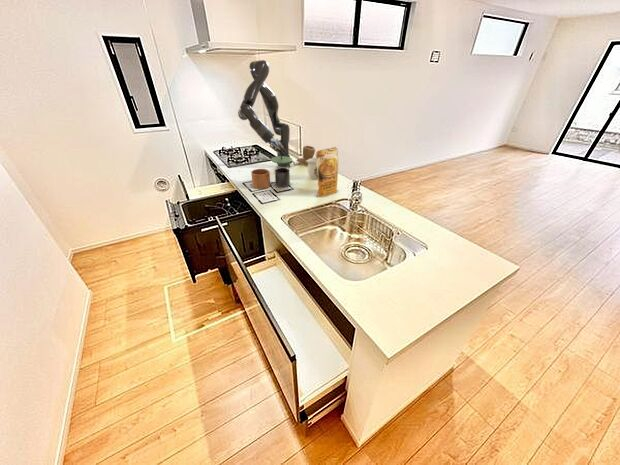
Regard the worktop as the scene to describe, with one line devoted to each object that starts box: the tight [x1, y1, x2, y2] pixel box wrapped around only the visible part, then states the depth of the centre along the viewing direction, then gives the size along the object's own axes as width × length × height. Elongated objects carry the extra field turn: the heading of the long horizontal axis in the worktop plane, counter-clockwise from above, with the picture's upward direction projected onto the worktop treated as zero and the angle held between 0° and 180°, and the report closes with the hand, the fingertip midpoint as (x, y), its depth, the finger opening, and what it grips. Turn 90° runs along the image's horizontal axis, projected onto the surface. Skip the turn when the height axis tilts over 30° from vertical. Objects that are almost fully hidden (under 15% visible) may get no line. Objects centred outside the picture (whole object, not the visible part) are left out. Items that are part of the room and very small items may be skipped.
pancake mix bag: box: [315, 146, 339, 198], centre depth 158 cm, size 7×19×28 cm, turn 127°
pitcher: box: [306, 157, 318, 181], centre depth 185 cm, size 11×18×14 cm, turn 124°
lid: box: [270, 145, 293, 164], centre depth 165 cm, size 14×14×10 cm
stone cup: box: [296, 145, 316, 167], centre depth 211 cm, size 15×12×15 cm
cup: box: [274, 167, 291, 188], centre depth 173 cm, size 10×10×10 cm
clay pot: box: [250, 168, 271, 190], centre depth 171 cm, size 12×12×10 cm
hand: (284, 153), depth 165 cm, fingers closed on lid, 3 cm apart
